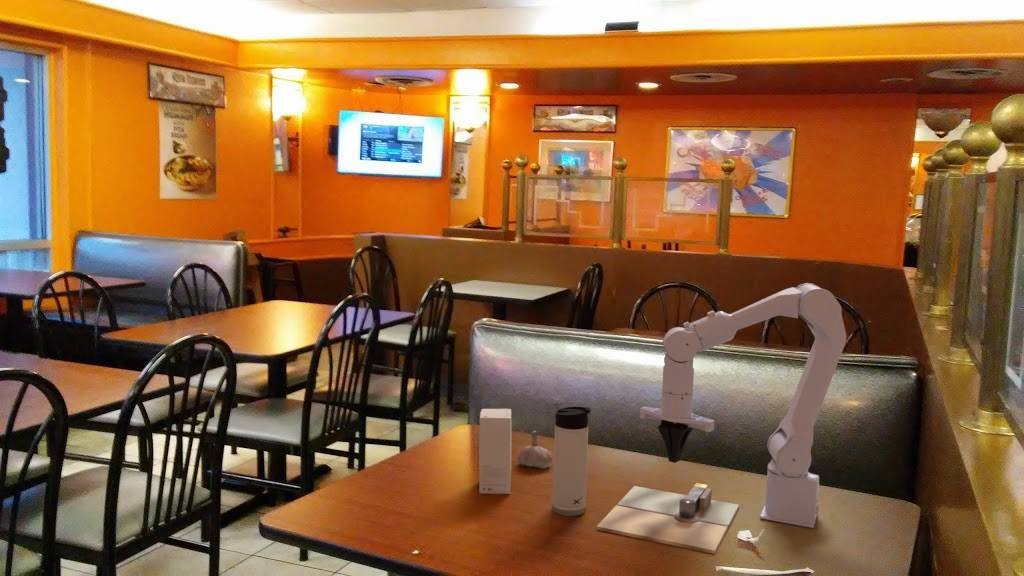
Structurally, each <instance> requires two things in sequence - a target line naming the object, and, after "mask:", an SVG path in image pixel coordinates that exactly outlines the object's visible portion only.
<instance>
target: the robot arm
mask: <svg viewBox="0 0 1024 576" xmlns="http://www.w3.org/2000/svg"><path fill="white" fill-rule="evenodd" d="M706 314H707V315H706V316H704V317H702V318H699V319H697V320H695V321H692V322H689V321H686V322H684V323H683V327H680V326H677V327H676V326H675V327H673V328H670V329H669V330H668V331H667V333H665V335H664V338H663V340H662V346H663V348H664V350H665V353H664V357H663V364H664V365H663V368H662V389H661V407H651V406H646V405H645V406H643V407H640V408H639V418H640V419H648V420H649V419H650V420H652V421H653V420H655V421H660V422H661V423H660V424H659V425H658V427H657V429H658V431H659V433H660V435H661V437H662V441H664V442H663V443H664V446H665V448H666V449H665V450H666V454H667V457H668V458H667V459H668V462H670V463H677V462H679V461H681V457H682V452H683V450H684V447H685V444H686V442H687V440H688V438H689V437H690V435H691V433H692V431H693V429H698V430H702V431H704V432H706V433H711V432H713V431H715V419H711V418H707V417H704V416H700V415H698V414H695V413H693V399H694V380H695V379H694V378H695V377H694V375H695V374H694V373H695V369H694V358H695V357H696V355H697V353H698V352H701V353H702V352H705V351H707V350H709V349H711V348H715V347H717V346H720V345H722V344H725V343H727V342H729V341H732V340H733V339H734V338H735V335H736V333H737V332H738V330H741V329H744V328H748V327H750V326H752V325H755V324H758V323H761V322H763V321H764V322H765V321H766V320H769V319H773V318H775V317H778V316H779V317H780V316H782V317H788V318H793V319H799V317H800V318H801V319H802V320H803V321H804V322H806V324H807V327H808V328H809V329H810V332H811V333H812V335H813V337H814V341H813V344H812V346H811V349H810V352H809V355H808V357H807V360H806V362H805V365H804V368H803V371H802V373H801V376H800V378H799V381H798V384H797V387H796V389H795V392H794V395H793V398H792V400H791V402H790V405H789V408H788V411H787V414H786V416H784V417H783V419H781V421H780V422H779V425H778V427H777V429H776V430H775V431H774V432H773V433H771V435H770V436H769V438H768V440H767V444H766V445H767V447H766V448H767V450H768V453H769V454H770V456H771V460H770V461H769V462H768V464H767V471H766V472H767V475H766V478H767V479H766V487H765V488H766V489H765V490H766V491H765V504H764V506H763V508H762V511H761V513H760V515H759V516H760V517H759V518H760V519H761V520H767V521H768V520H769V521H773V522H779V523H783V524H788V525H794V526H800V527H805V528H811V529H813V528H814V527H815V524H816V520H817V517H818V515H819V510H820V508H819V507H820V506H819V492H820V491H819V490H820V475H818V474H815V473H811V472H809V468H810V467H811V464H812V454H811V450H812V447H813V444H814V427H815V424H816V421H817V419H818V416H819V413H820V411H821V409H822V405H823V403H824V400H825V398H826V395H827V393H828V390H829V387H830V385H831V382H832V379H833V377H834V374H835V371H836V368H837V366H838V363H839V361H840V358H841V355H842V353H843V350H844V348H845V345H846V343H847V332H846V327H845V324H844V319H843V315H842V306H841V304H840V302H839V301H838V300H837V298H836V297H835V295H834V294H833V293H832V292H831V291H829V290H827V289H825V288H821V287H820V286H819V285H817V284H815V283H809V282H806V283H802V284H799V285H797V286H796V287H794V286H792V287H789V288H786V289H782V290H781V291H778V292H776V293H773V294H772V295H769V296H767V297H765V298H762V299H760V300H758V301H756V302H754V303H752V304H750V305H747V306H745V307H743V308H741V309H739V310H737V311H734V312H731V313H727V312H726V311H725V312H724V311H722V310H720V311H719V310H718V311H717V312H715V311H714V310H710V311H709V312H707V313H706Z"/></svg>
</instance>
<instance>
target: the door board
mask: <svg viewBox="0 0 1024 576" xmlns="http://www.w3.org/2000/svg"><path fill="white" fill-rule="evenodd" d="M712 491H713V490H712V488H710V487H708V488H706V489H705V491H704V492H703V494H702V495H701V497H700V502H699V508H698V509H697V511H696V512H695V516H694V517H693V518H684V517H681V516H680V515H679V505H680V500H681V499H685V497H686V496H687V495H688V494H683V493H682V494H681V493H675V492H670V491H664V490H658V489H653V488H648V487H642V486H636V485H634V486H633V487H632V488H631V489H629V491H628V492H627V493H626V494H625V495H623V498H621V500H619V502H618V503H616V505H615V506H614V507H613V508H612V509H611V510H610V511H609V513H608V514H606V516H605V517H604V518H602V520H601V521H600V522H599V523H598V524H597V526H596V530H599V531H602V532H608V533H611V534H612V533H613V534H618V535H622V536H627V537H632V538H635V539H641V540H645V541H651V542H656V543H661V544H666V545H671V546H674V547H680V548H684V549H689V550H695V551H699V552H703V553H709V554H712V555H715V554H716V552H717V551H718V548H719V546H720V545H721V543H722V540H723V539H724V537H725V535H726V533H727V531H728V529H729V527H730V526H731V523H732V521H733V520H734V518H735V516H736V514H737V512H738V510H739V509H740V504H738V503H737V504H736V503H731V502H726V501H720V500H714V499H712Z"/></svg>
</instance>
